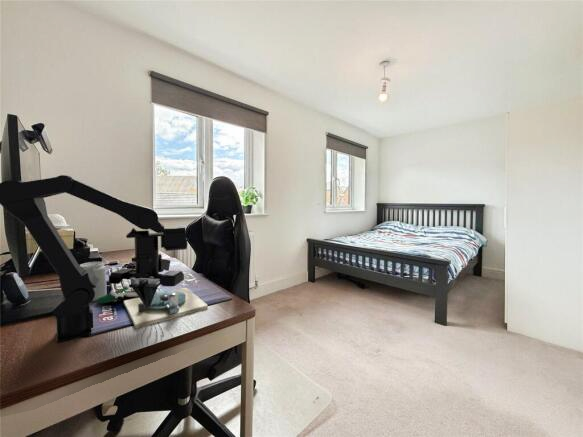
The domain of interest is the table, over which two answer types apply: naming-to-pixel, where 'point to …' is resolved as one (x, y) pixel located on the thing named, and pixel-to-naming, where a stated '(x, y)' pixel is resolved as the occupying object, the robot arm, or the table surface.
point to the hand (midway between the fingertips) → (148, 306)
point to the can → (99, 273)
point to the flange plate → (167, 301)
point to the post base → (148, 317)
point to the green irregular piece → (111, 296)
